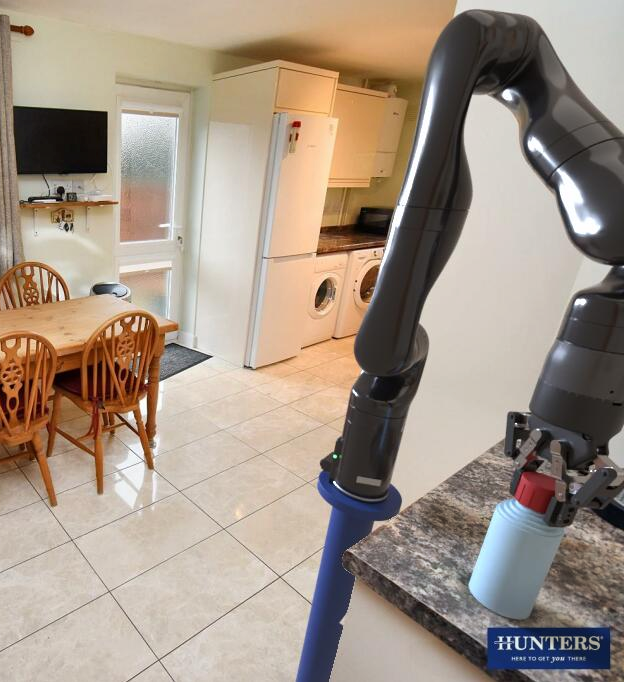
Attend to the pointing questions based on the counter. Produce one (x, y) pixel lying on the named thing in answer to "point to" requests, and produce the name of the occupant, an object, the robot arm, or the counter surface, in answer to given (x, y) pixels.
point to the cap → (535, 491)
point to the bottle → (514, 560)
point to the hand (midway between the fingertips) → (536, 509)
